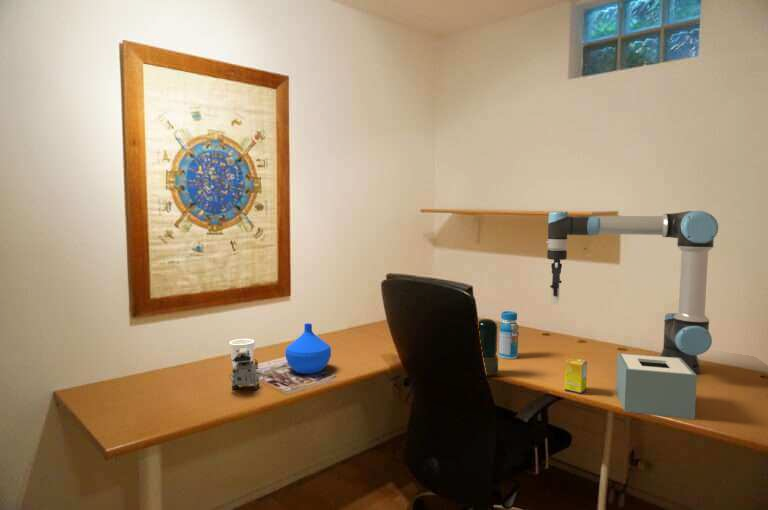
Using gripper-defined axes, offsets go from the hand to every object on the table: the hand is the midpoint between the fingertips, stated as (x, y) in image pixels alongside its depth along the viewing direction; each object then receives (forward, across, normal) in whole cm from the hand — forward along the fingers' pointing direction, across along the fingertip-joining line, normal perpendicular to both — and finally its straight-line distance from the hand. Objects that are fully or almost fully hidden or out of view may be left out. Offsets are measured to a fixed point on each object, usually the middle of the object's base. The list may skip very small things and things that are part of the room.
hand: (555, 301), depth 209 cm
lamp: (+28, +17, -25) cm, 41 cm away
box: (+28, +30, +33) cm, 53 cm away
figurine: (+28, +67, -104) cm, 127 cm away
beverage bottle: (+28, -10, -19) cm, 36 cm away
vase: (+28, +39, -93) cm, 105 cm away
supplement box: (+28, +26, +8) cm, 39 cm away
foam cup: (+28, +52, -116) cm, 130 cm away
